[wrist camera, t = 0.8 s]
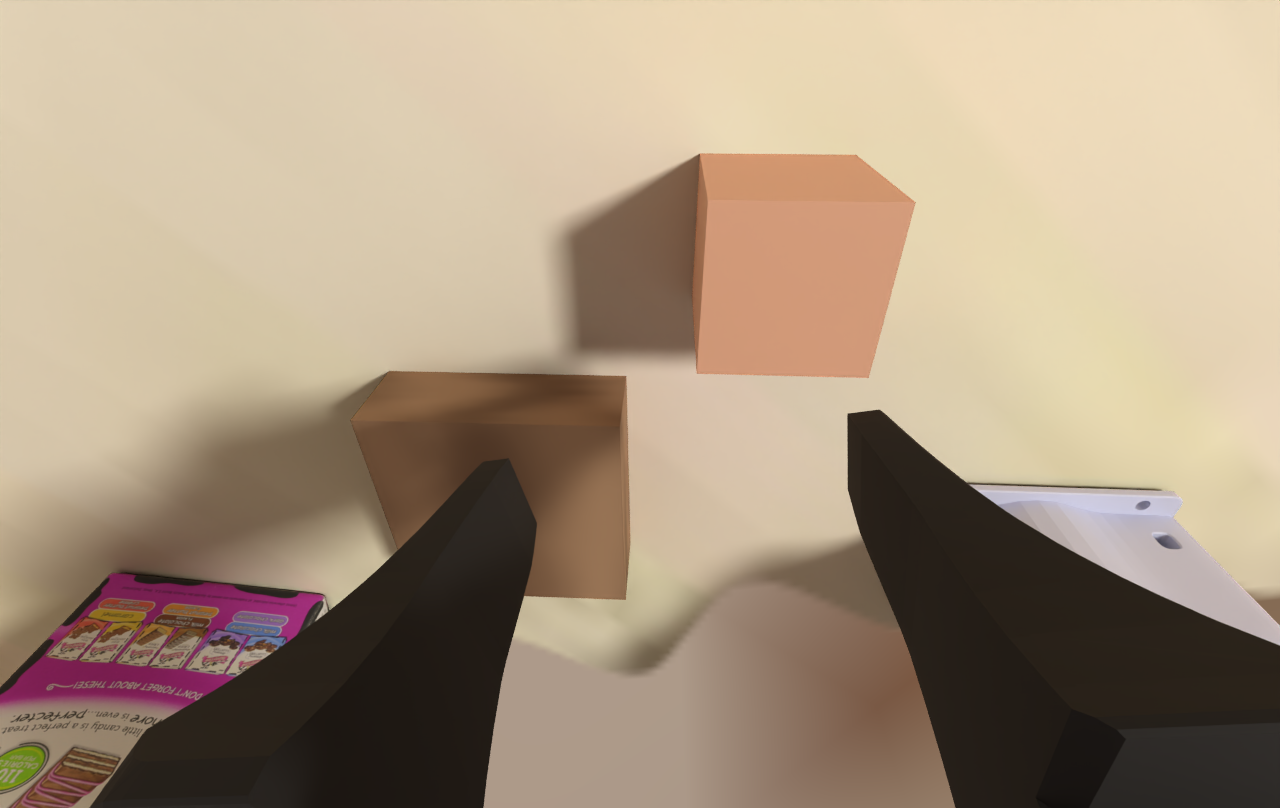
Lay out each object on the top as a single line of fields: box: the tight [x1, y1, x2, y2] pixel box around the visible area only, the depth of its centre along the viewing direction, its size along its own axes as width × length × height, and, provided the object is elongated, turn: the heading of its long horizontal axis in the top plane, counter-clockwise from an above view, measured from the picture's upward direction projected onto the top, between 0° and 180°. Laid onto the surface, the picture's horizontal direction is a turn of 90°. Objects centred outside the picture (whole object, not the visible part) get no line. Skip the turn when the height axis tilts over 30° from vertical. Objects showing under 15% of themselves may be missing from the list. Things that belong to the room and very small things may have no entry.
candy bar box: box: [0, 573, 329, 808], centre depth 24 cm, size 11×5×16 cm, turn 83°
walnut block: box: [350, 371, 630, 600], centre depth 23 cm, size 9×9×4 cm
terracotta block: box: [692, 154, 916, 378], centre depth 16 cm, size 4×4×5 cm
